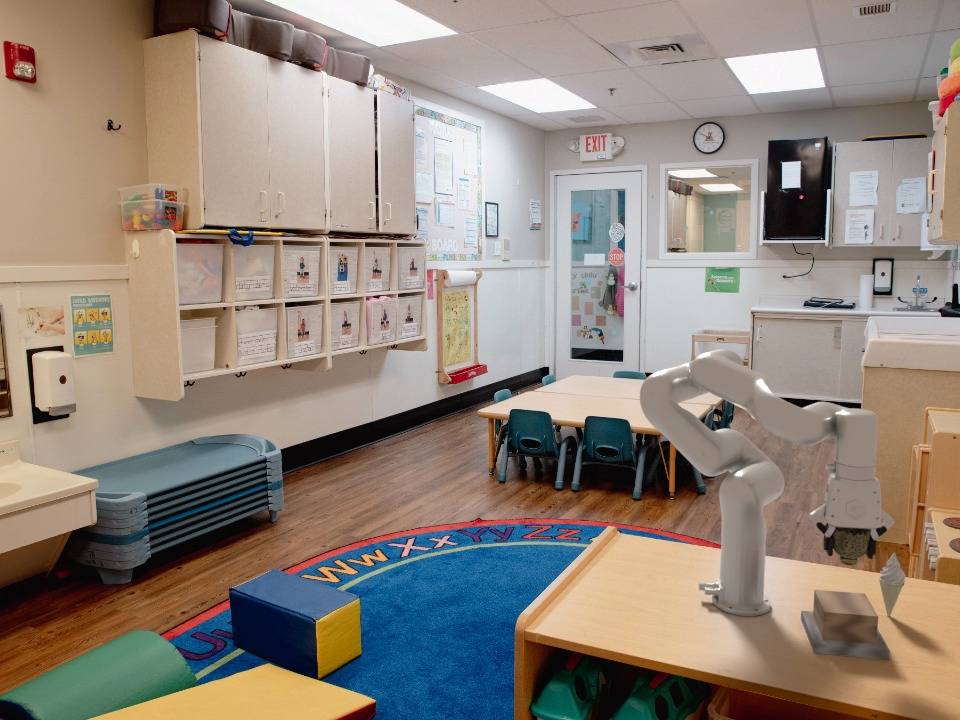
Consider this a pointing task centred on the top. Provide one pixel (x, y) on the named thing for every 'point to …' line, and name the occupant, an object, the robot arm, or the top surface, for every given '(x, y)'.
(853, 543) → the cup
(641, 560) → the top surface
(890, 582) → the ice cream cone
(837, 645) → the brown block on base
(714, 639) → the top surface
